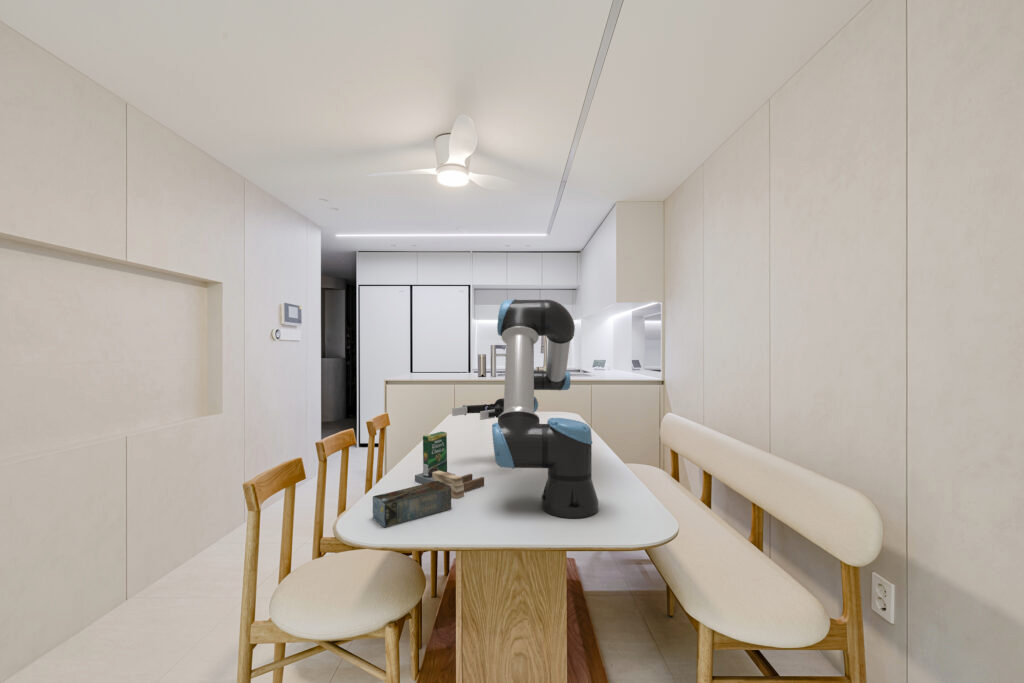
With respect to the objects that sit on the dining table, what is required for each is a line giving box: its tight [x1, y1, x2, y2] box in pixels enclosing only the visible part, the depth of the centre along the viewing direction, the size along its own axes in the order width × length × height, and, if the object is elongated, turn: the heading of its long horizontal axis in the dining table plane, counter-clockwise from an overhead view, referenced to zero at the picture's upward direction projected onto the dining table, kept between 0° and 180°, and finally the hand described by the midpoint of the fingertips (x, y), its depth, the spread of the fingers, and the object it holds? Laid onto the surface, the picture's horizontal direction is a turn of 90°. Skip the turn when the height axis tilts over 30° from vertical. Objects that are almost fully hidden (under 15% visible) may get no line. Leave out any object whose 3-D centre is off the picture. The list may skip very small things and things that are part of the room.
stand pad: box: [414, 471, 456, 485], centre depth 138 cm, size 9×9×2 cm
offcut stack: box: [432, 470, 465, 499], centre depth 127 cm, size 11×3×5 cm, turn 49°
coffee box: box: [422, 431, 448, 478], centre depth 138 cm, size 8×3×13 cm, turn 139°
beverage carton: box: [372, 481, 452, 528], centre depth 112 cm, size 8×19×7 cm, turn 130°
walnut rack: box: [460, 473, 485, 493], centre depth 133 cm, size 6×8×2 cm
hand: (466, 413), depth 147 cm, fingers open, 13 cm apart
